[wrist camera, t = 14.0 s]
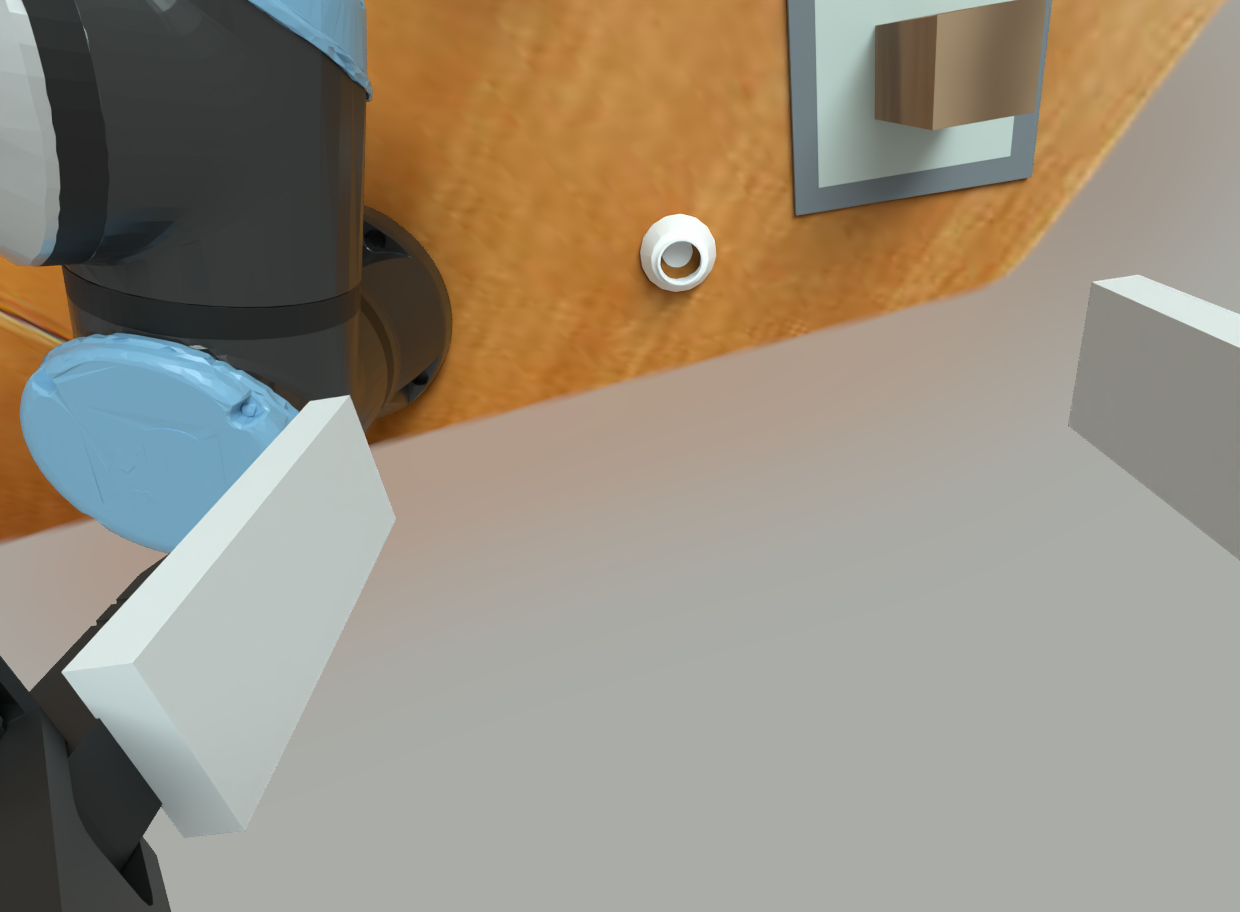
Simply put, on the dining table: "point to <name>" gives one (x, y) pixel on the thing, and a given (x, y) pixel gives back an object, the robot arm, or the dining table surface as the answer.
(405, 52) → the dining table surface
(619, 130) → the dining table surface
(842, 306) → the dining table surface
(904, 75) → the block
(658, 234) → the lidless jar
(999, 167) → the coaster
